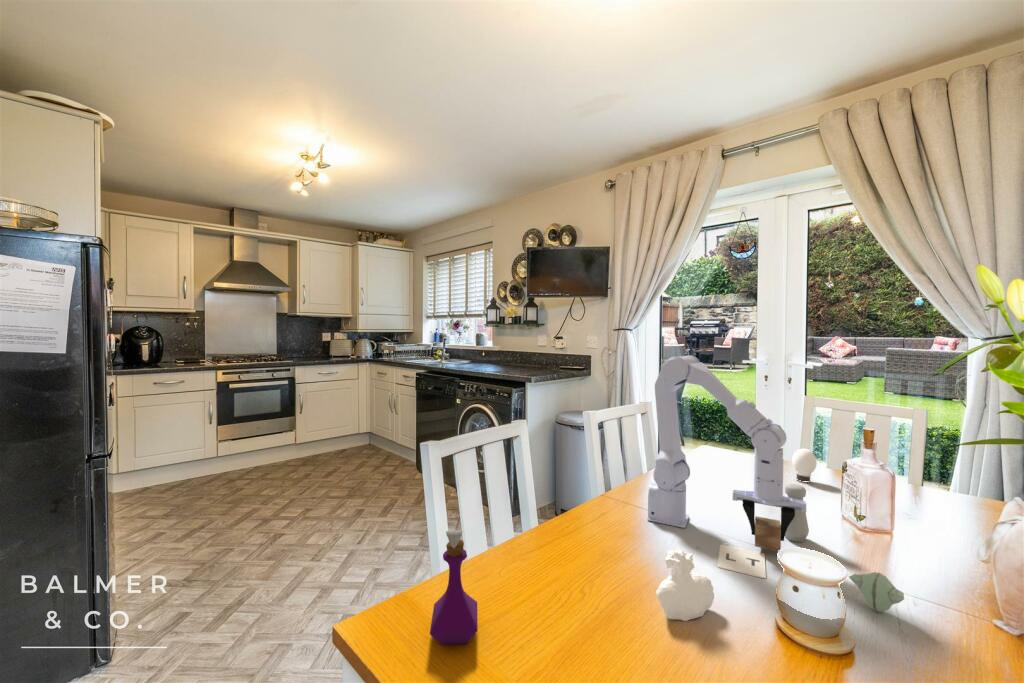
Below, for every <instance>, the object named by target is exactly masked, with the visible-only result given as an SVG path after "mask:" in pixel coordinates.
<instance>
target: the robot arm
mask: <svg viewBox="0 0 1024 683" xmlns="http://www.w3.org/2000/svg"><path fill="white" fill-rule="evenodd" d="M685 383H686V384H692V385H698V386H701V387H702V388H703V389H704V390H706V392H708V393H709V394H711V396H712V397H713V398H715V399H716V400H717V401H718V402H719V403H721V405H723V406H724V407H725V408H726V414H727V417H728V418H729V419H730V420H731V421H733V423H735V425H737V426H738V427H739V428H740V429H741V430H742V431H743V432H744V433H745V434H746V435H747V436H748V437H749V438H750V441H751V444H752V446H753V448H754V450H755V451H754V452H755V453H754V454H755V455H754V476H753V477H754V479H753V480H754V481H753V490H739V489H732V501H734V502H735V501H741V502H742V508H743V511H744V513H745V515H746V517H747V520H748V523H749V527H750V530H751V535H752V536H755V516H756V515H755V514H756V513H755V511H756V510H755V508H756V507H755V506H756V504H757V505H758V504H760V505H764V506H770V507H776V508H777V507H778V508H780V525H781V542H785V538H786V537H785V533H786V531H787V528H788V526H789V524H790V523H791V521H792V520H793V519H794V517H795V510H799V511H800V512H804V513H806V514H807V502H806V501H805V500H803V501H801V500H796V499H792V498H789V497H787V496H784V448H782V447H784V446H785V444H786V442H787V433H786V432H785V430H784V429H783V428H782V426H781V425H779V424H778V423H773V420H772V419H771V418H766V416H764V414H762V413H761V412H760V411H759V410H758V409H757V408H756V407H757V405H756V403H755V402H753V401H751V402H749V401H748V400H747V399H739V398H738V397H736V396H735V394H733V392H731V391H730V389H729V388H728V387H726V385H725V384H724V383H722V381H721V380H720V379H719V378H718V377H717V376H715V374H714V373H713V372H712V371H711V370H710V369H709V368H708V366H707V365H706V364H705V363H703V362H702V361H701V362H700V360H699V358H697V357H696V356H695V355H691V354H687V355H683V356H671V357H669V358H668V359H666V360H665V361H664V362H663V363H662V364H661V365H660V371H659V374H658V376H657V379H656V380H655V383H654V396H655V406H656V407H655V408H656V421H657V433H658V444H659V452H658V454H657V456H656V457H655V468H654V469H653V473H652V476H653V480H654V482H653V483H652V482H651V483H650V484H649V487H648V494H647V495H648V496H647V517H646V518H647V519H646V520H647V521H650V522H654V523H658V524H664V525H668V526H673V527H677V528H683V529H685V528H686V526H687V524H688V521H689V518H690V515H689V514H687V485H686V481H688V479H689V478H690V475H691V468H690V466H689V464H688V462H687V460H686V458H687V457H686V454H685V453H684V452H683V451H682V448H681V447H682V446H681V437H680V436H681V435H680V433H681V432H680V423H679V411H678V410H679V408H678V400H677V391H678V390H679V389H680V388H681V387H682V386H683V385H684V384H685Z"/></svg>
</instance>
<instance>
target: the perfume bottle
mask: <svg viewBox="0 0 1024 683" xmlns="http://www.w3.org/2000/svg"><path fill="white" fill-rule="evenodd" d="M463 532H464V530H460V529H459V530H456V529H453V530H446V531H445V533H446V534H445V535H446V537H447V539H448V542H447V544H445V546H446V550H445V551H444V552H443V554H442V559H443V561H445V562H446V563H447V564H448V570H449V574H448V583H447V587H446V590H445V591H444V593H443V594H442V595H441V596H440V598H438V600H437V601H436V602H435V603H434V604H433V607H432V608H433V610H432V615H431V622H430V629H429V634H430V636H431V637H432V638H433V639H434V640H435V641H437V643H438V644H439V645H441V646H442V645H446V646H455V645H454V644H463V645H467V644H468V643H470V641H471V640H472V639H473V637H474V636H475V635H476V634H477V632H478V629H479V628H478V601H476V600H475V598H473V597H472V596H470V595H469V594H467V592H466V591H465V590H464V587H463V585H462V577H461V576H462V574H461V573H462V572H461V569H462V563H463V561H465V559H467V556H468V555H467V554H468V553H467V550H465V549H464V546H465V542H464V540H462V539H460V538H461V537H462V535H463Z"/></svg>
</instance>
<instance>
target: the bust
mask: <svg viewBox="0 0 1024 683" xmlns="http://www.w3.org/2000/svg"><path fill="white" fill-rule="evenodd" d="M693 556H694V553H687V552H685V551H683V550H681V549H678V548H672V549H669V550H667V551H666V554H665V558H664V559H665V564H666V569H668V570H669V569H670V568H671V573H670V574H669V575H668V576H667V578H665V579H664V580H662V581H661V582H660V583H659V585H658V588H657V589H656V591H655V593H656V594H655V595H656V597H657V600H658V602H659V603H660V604H661V607H662V609H663V612H664V615H665V617H666V618H667V619H668V620H679V621H684V622H688V621H689V620H693V619H697V618H700V617H703V616H704V614H705V613H706V611H708V610H709V609H710V608H712V605H713V603H714V601H715V593H714V586H713V585H712V581H711V579H710V578H708V577H707V576H706V575H704V574H700V573H697V572H692V570H693V569H694V568H695V564H694V562H693V561H694V558H693Z"/></svg>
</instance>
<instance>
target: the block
mask: <svg viewBox="0 0 1024 683" xmlns="http://www.w3.org/2000/svg"><path fill="white" fill-rule="evenodd" d="M754 519H755V535H754V547H757V548H762V549H766V550H772V551H776V552H779V551H778V550H780V549H782V548H781V547H782V546H781V544H782V541H781V520H777V519H774V518H773V519H772V518H767V517H762V516H756V515H755V516H754Z"/></svg>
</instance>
